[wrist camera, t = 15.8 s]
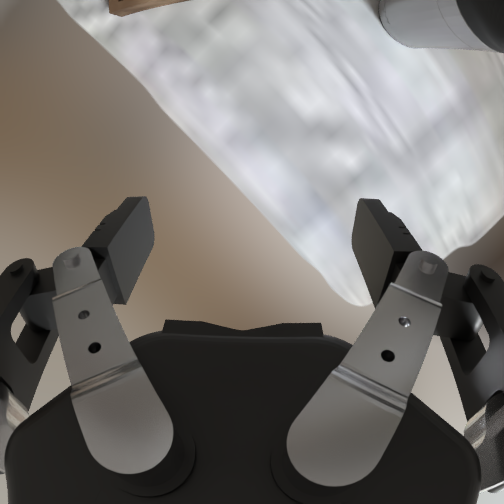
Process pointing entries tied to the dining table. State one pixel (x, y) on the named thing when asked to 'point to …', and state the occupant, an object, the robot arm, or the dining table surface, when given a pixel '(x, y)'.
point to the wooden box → (136, 5)
